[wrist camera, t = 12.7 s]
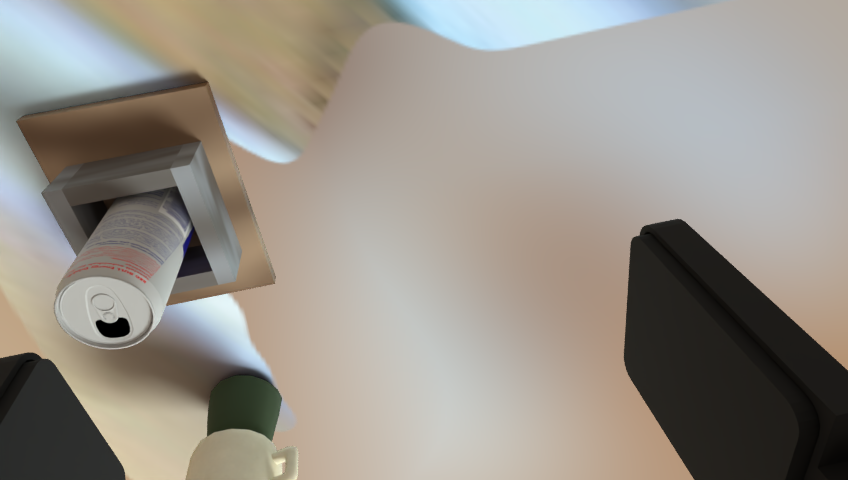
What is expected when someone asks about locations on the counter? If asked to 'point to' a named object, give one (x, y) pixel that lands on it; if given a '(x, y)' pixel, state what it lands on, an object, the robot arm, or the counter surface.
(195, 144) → the can holder
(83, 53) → the counter surface
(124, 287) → the energy drink
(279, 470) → the character mug
